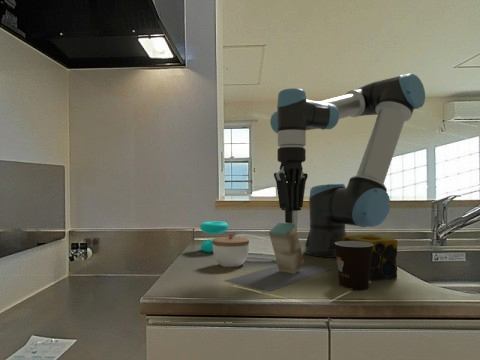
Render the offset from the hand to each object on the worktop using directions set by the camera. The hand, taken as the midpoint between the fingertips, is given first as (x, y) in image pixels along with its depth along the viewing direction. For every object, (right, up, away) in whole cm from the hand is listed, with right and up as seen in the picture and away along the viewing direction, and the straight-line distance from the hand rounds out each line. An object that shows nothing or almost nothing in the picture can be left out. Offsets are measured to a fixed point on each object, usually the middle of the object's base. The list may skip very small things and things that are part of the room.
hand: (291, 234), depth 105 cm
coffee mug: (+13, -10, -13) cm, 21 cm away
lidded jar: (-16, -11, +8) cm, 21 cm away
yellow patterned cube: (+20, -10, -4) cm, 23 cm away
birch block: (0, -9, 0) cm, 9 cm away
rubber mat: (-3, -10, -4) cm, 11 cm away
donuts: (-23, -11, +33) cm, 41 cm away
